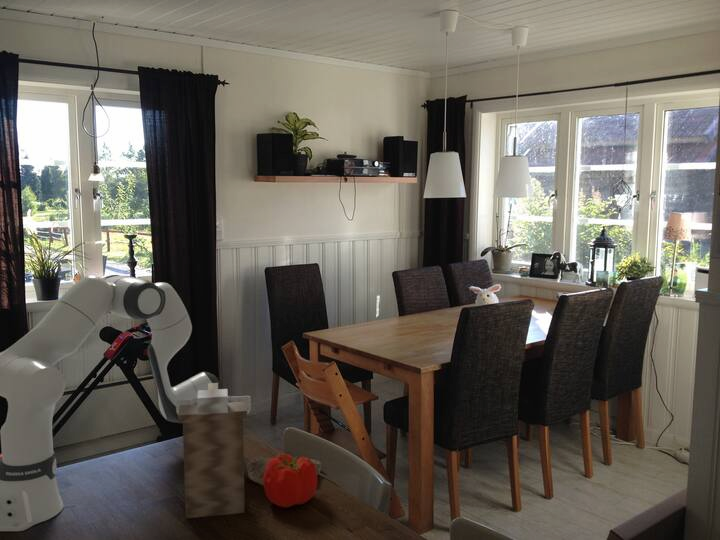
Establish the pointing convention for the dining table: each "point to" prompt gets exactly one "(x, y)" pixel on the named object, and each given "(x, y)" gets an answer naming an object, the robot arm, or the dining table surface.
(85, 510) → the dining table surface
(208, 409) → the mallet
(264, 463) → the clay tablet
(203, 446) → the walnut stand
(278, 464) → the tomato
